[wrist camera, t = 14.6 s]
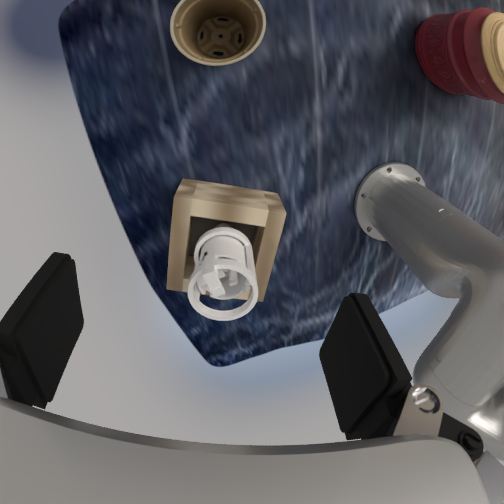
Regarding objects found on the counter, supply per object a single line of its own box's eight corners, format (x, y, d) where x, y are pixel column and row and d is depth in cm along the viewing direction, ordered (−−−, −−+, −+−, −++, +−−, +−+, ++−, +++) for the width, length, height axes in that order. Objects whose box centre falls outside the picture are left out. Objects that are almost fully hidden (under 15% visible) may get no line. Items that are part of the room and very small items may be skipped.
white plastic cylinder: (238, 202, 41) (244, 261, 28) (256, 245, 44) (268, 316, 31) (190, 220, 41) (173, 285, 28) (210, 262, 45) (205, 335, 32)
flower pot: (195, 81, 34) (185, 78, 26) (173, 19, 29) (159, 1, 22) (267, 59, 33) (277, 51, 26) (245, -3, 28) (250, -26, 21)
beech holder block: (277, 193, 42) (286, 213, 36) (258, 272, 48) (262, 301, 42) (182, 178, 40) (174, 196, 34) (174, 261, 46) (166, 289, 40)
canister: (432, 103, 36) (517, 125, 21) (398, 24, 30) (481, 7, 15) (482, 82, 34) (563, 99, 18) (455, 10, 28) (535, 2, 12)
